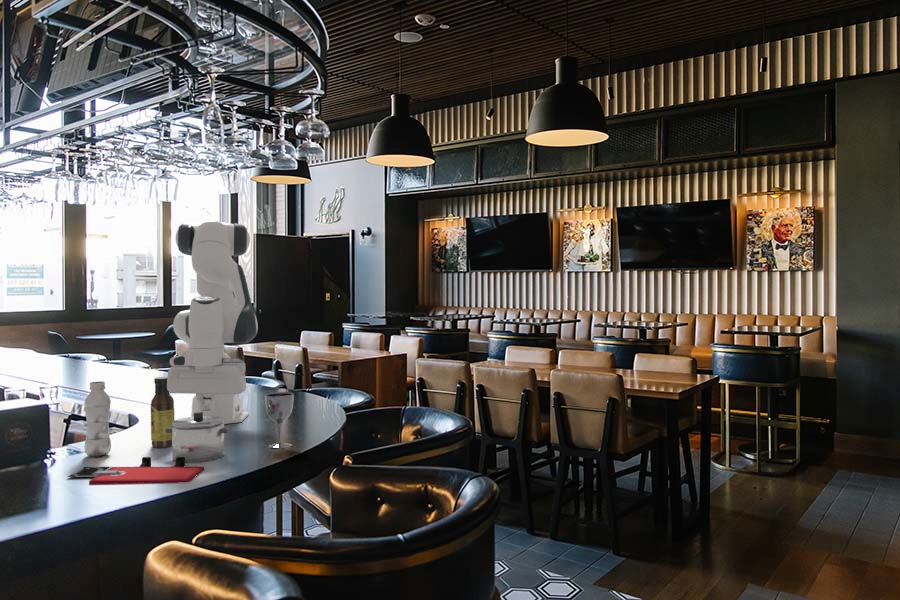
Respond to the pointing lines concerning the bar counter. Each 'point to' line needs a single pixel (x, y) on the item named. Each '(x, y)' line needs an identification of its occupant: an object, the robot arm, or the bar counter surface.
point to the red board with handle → (140, 473)
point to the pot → (198, 443)
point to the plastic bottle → (97, 420)
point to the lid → (197, 421)
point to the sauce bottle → (161, 414)
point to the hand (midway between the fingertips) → (207, 410)
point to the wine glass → (279, 412)
